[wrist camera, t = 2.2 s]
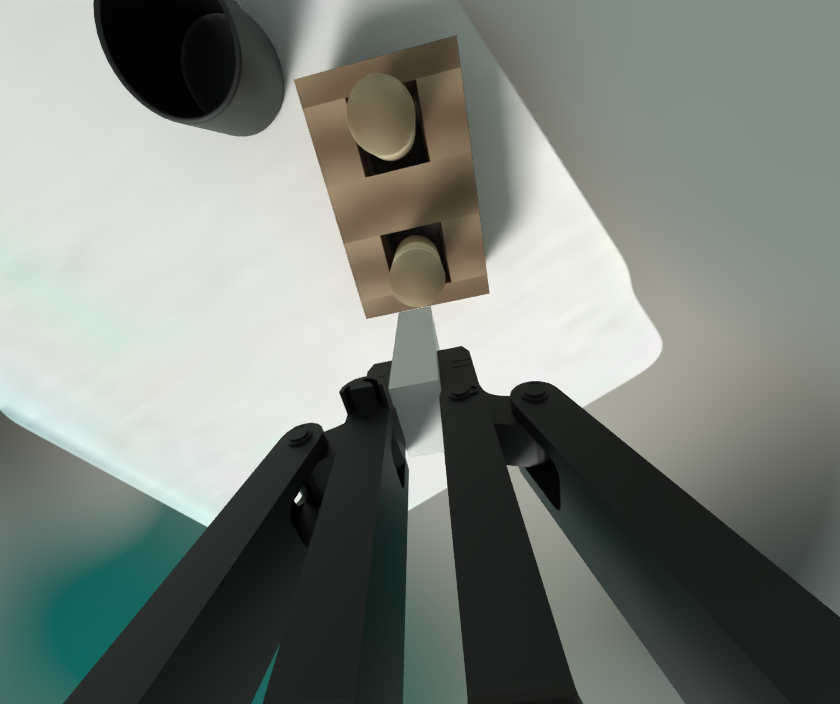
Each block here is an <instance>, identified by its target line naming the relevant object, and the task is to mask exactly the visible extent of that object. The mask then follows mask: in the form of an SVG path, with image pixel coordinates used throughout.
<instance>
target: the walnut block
mask: <svg viewBox="0 0 840 704" xmlns="http://www.w3.org/2000/svg"><path fill="white" fill-rule="evenodd" d="M376 73H382V74H387V75H390V76H392V77H394V78H396V79H397V80H399V81H400V82H401V83H402V84H403V85H404V86H405V87H406V89H407V90H408V92H409V93H410V95H411V97H412V100H413V102H414V101H416V104H417V110H418V116H419V121H420V127H421V132H422V138H423V143H424V149H425V154H426V160H427V163H423V164H419V165H415V166H411V167H407V168H403V169H399V170H395V171H390V172H386V173H382V174H378V175H375V174H374V170H373V166H372V161H371V157H370V153H369V152H367V151H366V150H364V149H363V148H362V147H361V146H360V145H359V144H358V143H357V142H356V141H355V139H354V137H353V136H352V134H351V132H350V129H349V126H348V122H347V103H348V99H349V96H350V94H351V92H352V90H353V88H354V87H355V85H356V84H357V83H358V82H359V81H360V80H361V79H363V78H364V77H366V76H368V75H371V74H376ZM294 82H295V85H296V89H297V92H298V95H299V99H300V102H301V105H302V109H303V112H304V115H305V118H306V122H307V125H308V128H309V132H310V135H311V138H312V141H313V145H314V148H315V151H316V155H317V158H318V161H319V165H320V168H321V171H322V174H323V178H324V181H325V184H326V188H327V191H328V194H329V198H330V201H331V204H332V207H333V211H334V214H335V217H336V221H337V224H338V227H339V230H340V234H341V237H342V240H343V244H344V247H345V250H346V254H347V257H348V260H349V263H350V267H351V270H352V273H353V277H354V280H355V283H356V287H357V290H358V293H359V296H360V300H361V303H362V306H363V310H364V313H365V316H366V319H368V318H373V317H378V316H383V315H388V314H392V313H397V312H402V311H407V310H412V309H417V308H421V307H412V306H408V305H405V304H404V303H402V302H400V301H399V300H398V299H397V298H396V297H395V296H394V294H393V293H392V291H391V288H390V284H389V274H390V270H391V267H392V264H393V260H394V252H393V248H392V244H391V240H390V236H389V233H393V232H398V231H402V230H407V229H411V228H415V227H420V226H424V225H429V224H433V223H437V222H438V227H439V232H440V238H441V244H442V249H443V255H444V260H445V263H444V264H442V266H443V269H444V273H445V286H444V289H443V291H442V293H441V295H440V296H439V297H438V298H437V299H436V300H435V301H434V302H433V303H431V304H429V305H426V306H431V305H436V304H441V303H446V302H450V301H455V300H460V299H465V298H470V297H475V296H479V295H484V294H489V286H488V278H487V270H486V263H485V255H484V247H483V239H482V231H481V223H480V215H479V207H478V200H477V192H476V184H475V176H474V168H473V160H472V152H471V144H470V137H469V129H468V121H467V113H466V105H465V97H464V89H463V81H462V74H461V66H460V58H459V50H458V42H457V35H456V36H453V37H449V38H445V39H442V40H438V41H434V42H431V43H427V44H423V45H420V46H416V47H412V48H409V49H405V50H401V51H398V52H394V53H390V54H387V55H383V56H379V57H376V58H372V59H368V60H364V61H361V62H357V63H353V64H350V65H346V66H342V67H339V68H335V69H331V70H328V71H324V72H320V73H317V74H313V75H309V76H306V77H302V78H298V79H295V80H294ZM426 306H423V307H426Z"/></svg>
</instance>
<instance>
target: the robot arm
mask: <svg viewBox="0 0 840 704" xmlns="http://www.w3.org/2000/svg"><path fill="white" fill-rule="evenodd" d="M339 393H340V395H341V398H342V401H343V403H344V406H345V409H346V411H347V414H348V415H347V418H346V422H345V423H344V424H342V425H340V426H338V427H335V428H333V429H330V430H328V431H325V432H324V431H323V429H322V427H321V426H320V425H319V424H316V423H307V424H302V425H300V426H296V427H294V428H293V429H291V430H290V431H288V432H287V433H286V434H285V435H284V436H283V437H282V438H281V439H280V440H279V441H278V442H277V444H276V445H275V446H274V447H273V449H272V450H271V451H270V452H269V453H268V455H267V456H266V457H265V458H264V460H263V461H262V462H261V463H260V464H259V466H258V467H257V468H256V469H255V471H254V472H253V473H252V474H251V475H250V477H249V478H248V479H247V480H246V481H245V483H244V484H243V485H242V486H241V488H240V489H239V490H238V491H237V492H236V494H235V495H234V496H233V497H232V499H231V500H230V501H229V502H228V503H227V505H226V506H225V507H224V508H223V509H222V511H221V512H220V513H219V514H218V516H217V517H216V518H215V519H214V520H213V522H212V523H211V524H210V525H209V527H208V528H207V529H206V530H205V532H204V533H203V534H202V535H201V536H200V538H199V539H198V540H197V541H196V542H195V544H194V545H193V546H192V547H191V548H190V550H189V551H188V552H187V553H186V555H185V556H184V557H183V558H182V559H181V561H180V562H179V564H177V566H176V567H175V568H174V569H173V570H172V572H171V573H170V574H169V575H168V577H167V578H166V579H165V580H164V581H163V583H162V584H161V585H160V586H159V588H158V589H157V590H156V591H155V593H154V594H153V595H152V596H151V597H150V598H149V600H148V601H147V602H146V603H145V605H144V606H143V607H142V609H140V611H139V612H138V613H137V614H136V616H135V617H134V618H133V619H132V620H131V622H130V623H129V624H128V625H127V627H126V628H125V629H124V630H123V631H122V633H121V634H120V635H119V636H118V637H117V639H116V640H115V641H114V642H113V644H112V645H111V646H110V647H109V648H108V650H107V651H106V652H105V653H104V655H103V656H102V657H101V658H100V660H99V661H98V662H97V663H96V664H95V665H94V667H93V668H92V669H91V670H90V672H89V673H88V674H87V675H86V676H85V678H84V679H83V680H82V681H81V683H80V684H79V685H78V686H77V687H76V689H75V690H74V691H73V692H72V694H71V695H70V696H69V697H68V698H67V700H66V701H65V702H64V703H63V704H251V703H252V701H253V699H254V697H255V694H256V692H257V690H258V688H259V686H260V684H261V682H262V679H263V678H264V675H265V673H266V671H267V669H268V667H269V665H270V663H271V661H272V659H273V657H274V654H275V652H276V650H277V648H278V645H279V644H280V646H279V650H278V653H277V656H276V660H275V663H274V667H273V671H272V674H271V677H270V680H269V684H268V687H267V691H266V694H265V697H264V701H263V704H403V677H404V676H403V675H404V637H405V599H406V598H405V597H406V559H407V519H408V482H409V469H408V465H407V461H406V458H405V451H406V450H407V453H408V456H409V458H411V457H417V456H423V455H429V454H435V453H441V452H444V454H445V465H446V475H447V486H448V496H449V506H450V516H451V527H452V538H453V548H454V559H455V568H456V579H457V590H458V600H459V610H460V620H461V631H462V642H463V652H464V662H465V673H466V683H467V696H468V704H583V702H582V701H581V699H580V697H579V696H578V693H577V690H576V688H575V685H574V682H573V679H572V676H571V673H570V670H569V666H568V663H567V660H566V657H565V653H564V650H563V647H562V644H561V641H560V637H559V634H558V631H557V628H556V624H555V621H554V618H553V615H552V611H551V608H550V605H549V602H548V599H547V596H546V592H545V589H544V586H543V582H542V579H541V576H540V573H539V570H538V566H537V563H536V560H535V557H534V553H533V550H532V547H531V544H530V540H529V537H528V534H527V531H526V528H525V524H524V521H523V518H522V515H521V512H520V508H519V505H518V502H517V498H516V495H515V492H514V489H513V485H512V482H511V479H510V476H509V472H508V469H507V466H506V465H512V466H518V467H519V469H520V472H521V473H522V475H523V476H524V478H525V479H526V480H527V482H528V483H529V485H530V486H531V487H532V489H533V490H534V492H535V493H536V494H537V496H538V497H539V499H540V500H541V501H542V503H543V504H544V506H545V507H546V508H547V510H548V511H549V512H550V514H551V515H552V517H553V518H554V520H555V521H556V522H557V524H558V525H559V527H560V528H561V529H562V531H563V532H564V534H565V535H566V537H567V538H568V539H569V541H570V542H571V544H572V545H573V546H574V548H575V549H576V551H577V552H578V553H579V555H580V556H581V557H582V559H583V560H584V562H585V563H586V565H587V566H588V567H589V569H590V570H591V572H592V573H593V574H594V576H595V577H596V579H597V580H598V581H599V583H600V584H601V586H602V587H603V588H604V590H605V591H606V593H607V594H608V596H609V597H610V598H611V600H612V601H613V603H614V604H615V605H616V607H617V608H618V609H619V611H620V612H621V614H622V615H623V616H624V618H625V619H626V621H627V622H628V623H629V625H630V626H631V628H632V629H633V630H634V632H635V633H636V635H637V636H638V638H639V639H640V640H641V642H642V643H643V645H644V646H645V647H646V649H647V650H648V652H649V653H650V654H651V656H652V657H653V659H654V660H655V661H656V663H657V664H658V666H659V667H660V668H661V670H662V671H663V673H664V674H665V676H666V677H667V678H668V680H669V681H670V683H671V684H672V685H673V687H674V688H675V689H676V691H677V692H678V694H679V695H680V697H681V698H682V699H683V701H684V702H685V703H686V704H840V617H839V616H838V615H836V614H835V613H834V612H833V611H832V610H830V609H829V608H828V607H827V606H825V605H824V604H823V603H822V602H821V601H819V600H818V599H817V598H816V597H814V596H813V595H812V594H811V593H809V592H808V591H807V590H806V589H805V588H803V587H802V586H801V585H800V584H798V583H797V582H796V581H795V580H793V579H792V578H791V577H790V576H789V575H787V574H786V573H785V572H784V571H782V570H781V569H780V568H779V567H777V566H776V565H775V564H774V563H772V562H771V561H770V560H769V559H767V558H766V557H765V556H764V555H763V554H761V553H760V552H759V551H758V550H756V549H755V548H754V547H753V546H752V545H750V544H749V543H748V542H746V541H745V540H744V539H743V538H742V537H740V536H739V535H738V534H737V533H736V532H734V531H733V530H732V529H731V528H729V527H728V526H727V525H726V524H724V523H723V522H722V521H721V520H720V519H718V518H717V517H716V516H715V515H713V514H712V513H711V512H710V511H708V510H707V509H706V508H705V507H703V506H702V505H701V504H700V503H698V502H697V501H696V500H695V499H694V498H692V497H691V496H690V495H689V494H687V493H686V492H685V491H684V490H683V489H681V488H680V487H679V486H678V485H676V484H675V483H674V482H672V481H671V480H670V479H669V478H667V477H666V476H665V475H664V474H663V473H662V472H660V471H659V470H658V469H657V468H655V467H654V466H653V465H652V464H650V463H649V462H648V461H647V460H645V459H644V458H643V457H642V456H641V455H639V454H638V453H637V452H636V451H634V450H633V449H632V448H631V447H629V446H628V445H627V444H626V443H625V442H623V441H622V440H621V439H620V438H618V437H617V436H616V435H615V434H613V433H612V432H611V431H610V430H609V429H607V428H606V427H605V426H604V425H602V424H601V423H600V422H599V421H597V420H596V419H595V418H594V417H592V416H591V415H590V414H589V413H588V412H586V411H585V410H584V409H583V408H581V407H580V406H579V405H578V404H577V403H575V402H574V401H573V400H572V399H570V398H569V397H568V396H567V395H565V394H564V393H563V392H562V391H561V390H559V389H558V388H557V387H555V386H553V385H552V384H550V383H546V382H541V381H531V382H526V383H522V384H520V385H518V386H516V387H515V388H514V389H513V390H512V391H511V394H510V396H498V395H493V394H489V393H487V392H485V391H484V390H483V389H482V388H481V386H480V385H479V382H478V379H477V376H476V372H475V369H474V366H473V362H472V359H471V356H470V353H469V351H468V350H467V349H465V348H464V347H462V346H460V347H455V348H450V349H445V350H440V349H439V344H438V340H437V335H436V330H435V325H434V321H433V316H432V311H431V306H430V307H425V308H420V309H415V310H410V311H405V312H400V313H399V316H398V323H397V330H396V337H395V345H394V352H393V359H392V361H388V362H383V363H378V364H374V365H373V366H372V367H371V369H370V370H369V371H368V373H367V376H366V377H361V378H358V379H355V380H353V381H351V382H349V383H347V384H346V385H345V386H344V387H342V389H341V390H340V392H339ZM299 492H300V493H301V495H302V497H301V499H300V500H299V501H298V503H297V504H296V503H295V502H294V499H295V498H296V496H297V495H298V493H299ZM280 642H281V643H280Z"/></svg>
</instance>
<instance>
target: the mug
mask: <svg viewBox="0 0 840 704" xmlns="http://www.w3.org/2000/svg"><path fill="white" fill-rule="evenodd" d="M94 18H95V24H96V29H97V34H98V37H99V40H100V43H101V46H102V49H103V51H104V54H105V56H106V58H107V60H108V62H109V64H110V66H111V67H112V69H113V71H114V72H115V74H116V76H117V77H118V78H119V80H120V81H121V83H122V84H123V85H124V86H125V88H126V89H127V90H128V91H129V92H130V93H131V94H132V95H133V96H134V97H135V98H136V99H137V100H138V101H139V102H140V103H141V104H143V105H144V106H145V107H147V108H148V109H149V110H151V111H152V112H154V113H156V114H158V115H159V116H161V117H163V118H165V119H168V120H171V121H174V122H177V123H182V124H186V125H190V126H194V127H199V128H203V129H207V130H211V131H216V132H220V133H224V134H228V135H233V136H251V135H254V134H257V133H259V132H261V131H263V130H264V129H266V128H267V127H268V126H269V125H270V124H271V123H272V121H273V120H274V119H275V117H276V115H277V113H278V111H279V109H280V105H281V102H282V96H283V76H282V70H281V66H280V62H279V59H278V56H277V54H276V51H275V49H274V47H273V45H272V43H271V41H270V39H269V38H268V37H267V35H266V34H265V32H264V31H263V30H262V29H261V28H260V26H259V25H258V24H257V23H256V22H255V21H254V20H253V19H252V18H251V17H250V16H249V15H248V14H247V13H246V12H245V11H244V10H243V9H242V8H241V7H240V6H239V5H238V4H236V3H235V2H234V1H233V0H94Z"/></svg>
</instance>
